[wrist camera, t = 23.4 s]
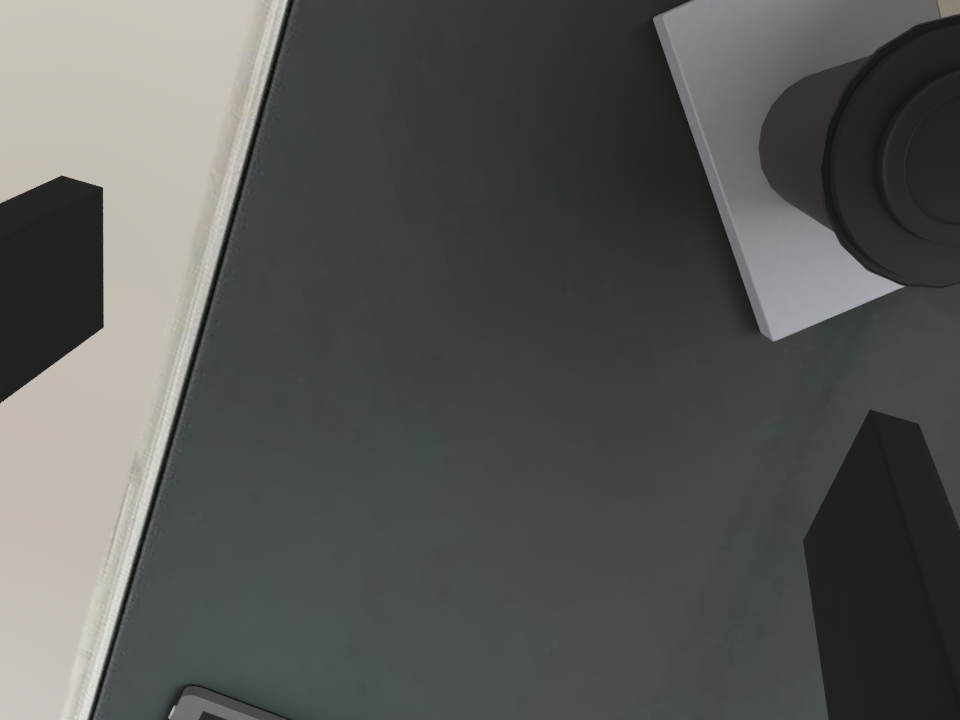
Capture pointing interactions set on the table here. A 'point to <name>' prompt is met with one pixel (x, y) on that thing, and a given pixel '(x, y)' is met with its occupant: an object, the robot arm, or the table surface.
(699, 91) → the coffee maker
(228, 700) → the smartphone
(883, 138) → the coffee cup
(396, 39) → the table surface
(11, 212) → the robot arm
